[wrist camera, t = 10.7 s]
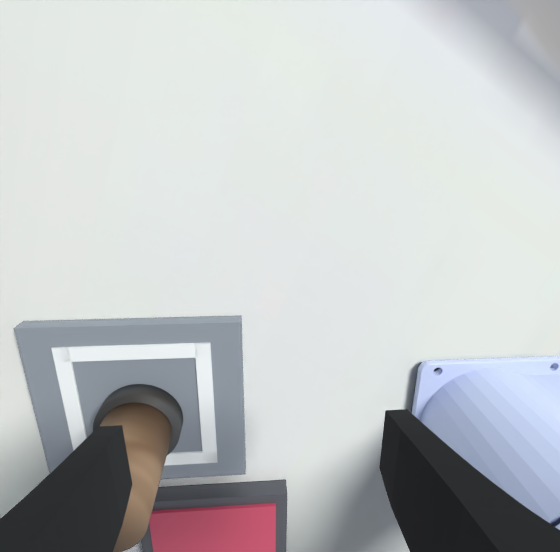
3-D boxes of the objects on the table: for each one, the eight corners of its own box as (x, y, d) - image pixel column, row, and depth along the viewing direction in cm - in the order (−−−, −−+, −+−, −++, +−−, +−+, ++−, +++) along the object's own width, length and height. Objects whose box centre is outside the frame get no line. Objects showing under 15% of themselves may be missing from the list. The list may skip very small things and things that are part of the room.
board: (241, 315, 20) (241, 323, 19) (245, 463, 23) (245, 475, 22) (22, 321, 19) (12, 329, 18) (59, 473, 22) (52, 486, 21)
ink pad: (285, 479, 24) (287, 496, 23) (284, 557, 26) (285, 575, 25) (140, 488, 23) (134, 506, 22) (151, 567, 25) (147, 586, 24)
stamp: (190, 392, 20) (167, 488, 14) (174, 455, 21) (147, 566, 16) (106, 376, 19) (47, 471, 14) (95, 442, 21) (36, 554, 15)
